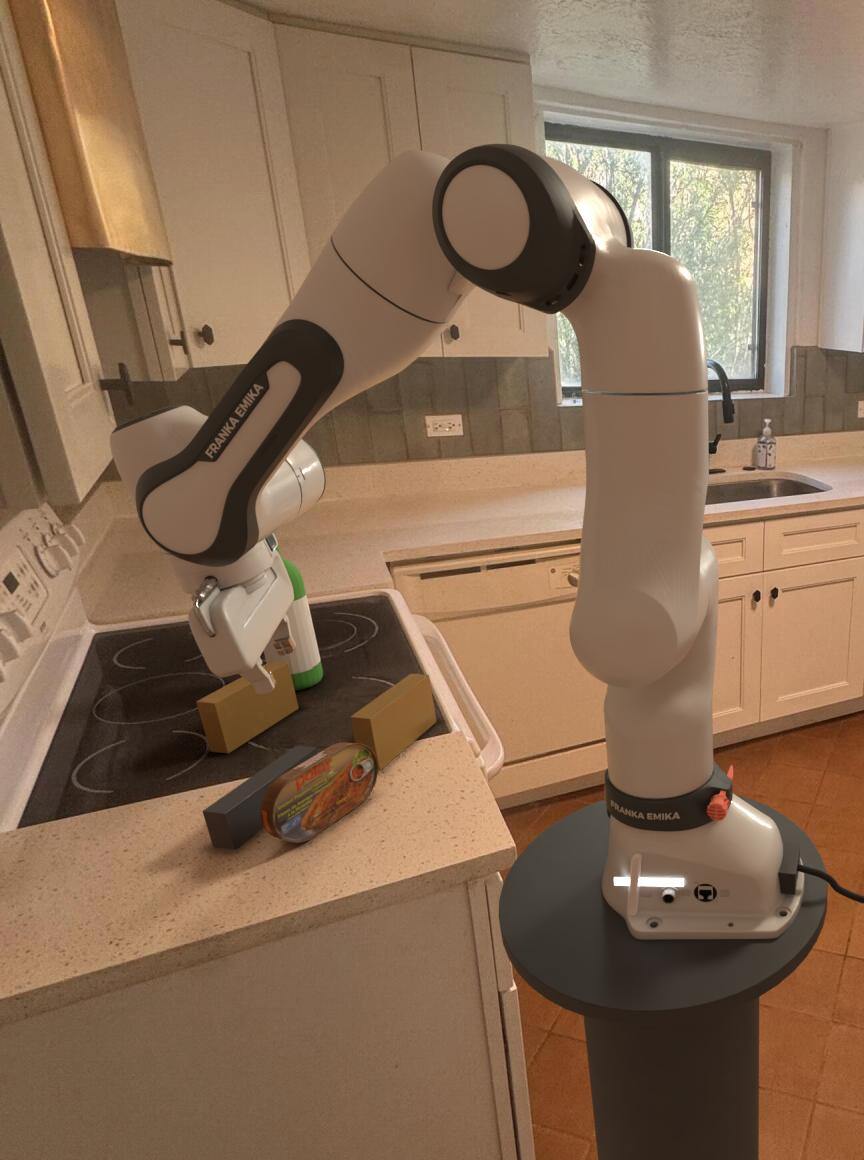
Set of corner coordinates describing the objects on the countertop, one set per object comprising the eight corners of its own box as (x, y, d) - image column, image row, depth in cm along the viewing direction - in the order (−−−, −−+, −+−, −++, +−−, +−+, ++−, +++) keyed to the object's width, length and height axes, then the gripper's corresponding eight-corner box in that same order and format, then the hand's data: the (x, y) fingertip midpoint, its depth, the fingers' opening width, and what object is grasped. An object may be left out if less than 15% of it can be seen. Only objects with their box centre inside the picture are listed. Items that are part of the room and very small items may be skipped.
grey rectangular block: (323, 780, 105) (316, 747, 103) (234, 850, 91) (224, 813, 89) (303, 777, 105) (296, 745, 103) (212, 847, 91) (201, 811, 90)
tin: (284, 858, 89) (268, 795, 86) (264, 851, 91) (247, 789, 88) (384, 788, 103) (373, 732, 100) (366, 784, 104) (354, 728, 101)
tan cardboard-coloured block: (298, 708, 124) (288, 662, 121) (228, 753, 111) (214, 703, 108) (282, 706, 124) (271, 661, 121) (210, 751, 111) (195, 701, 109)
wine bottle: (333, 674, 136) (298, 504, 125) (307, 694, 128) (267, 515, 118) (290, 673, 136) (251, 503, 125) (262, 693, 129) (217, 515, 118)
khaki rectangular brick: (436, 722, 120) (429, 674, 117) (380, 770, 107) (369, 718, 104) (419, 720, 120) (410, 673, 117) (360, 768, 107) (349, 716, 104)
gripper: (223, 590, 75) (285, 708, 82) (276, 525, 93) (324, 626, 99) (152, 608, 74) (221, 725, 81) (220, 539, 92) (272, 639, 98)
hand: (278, 670), depth 90 cm, fingers open, 8 cm apart
